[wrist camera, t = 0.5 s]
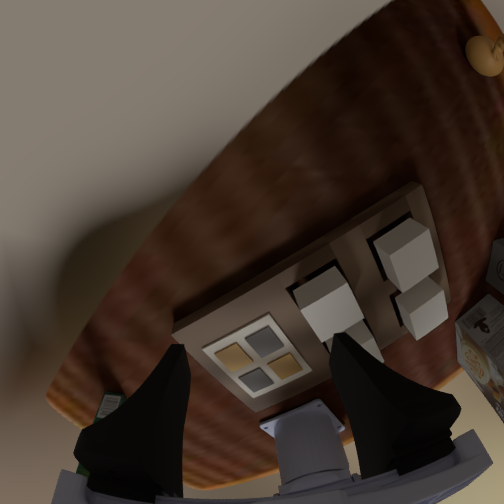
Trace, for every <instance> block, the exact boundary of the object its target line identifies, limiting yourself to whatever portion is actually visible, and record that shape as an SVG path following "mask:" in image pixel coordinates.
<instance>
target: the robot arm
mask: <svg viewBox="0 0 504 504" xmlns="http://www.w3.org/2000/svg"><path fill="white" fill-rule="evenodd" d="M329 367H330V371H331V375H332V378H333V381H334V384H335V386H336V389H337V391H338V394H339V396H340V398H341V401H342V403H343V406H344V408H345V410H346V413H347V416H348V418H349V422H350V425H351V429H352V433H353V437H354V441H355V445H356V450H357V455H358V460H359V466H360V473H361V475H358V474H357V473H355V474H352V475H351V474H350V471H349V463H348V460H347V457H346V454H345V451H344V448H343V444H342V441H341V438H340V435H339V432H341V431H343V430H344V429H345V427H344V425H343V424H342V423H341V422H340V421H339V420H338V419H337V417H336V416H335V415H334V414H333V413H332V412H331V411H330V410H329V408H328V407H327V406H326V405H325V404H324V403H323V402H322V400H321V399H315V400H313V401H311V402H309V403H307V404H304V405H302V406H300V407H298V408H296V409H293V410H291V411H289V412H286V413H284V414H281V415H279V416H277V417H274V418H272V419H269V420H267V421H264V422H261V423H260V424H259V426H260V428H262V429H263V430H264V431H266V432H267V433H268V434H270V435H271V436H273V437H274V438H275V444H276V450H277V457H278V464H279V470H280V476H281V483H282V485H281V486H278V487H279V493H277V494H274V495H273V497H264V498H250V499H190V498H183V480H182V447H183V430H184V424H185V418H186V412H187V406H188V400H189V394H190V381H191V372H190V368H189V364H188V359H187V355H186V350H185V346H184V344H171V345H170V347H169V348H168V350H167V351H166V353H165V354H164V356H163V357H162V359H161V360H160V362H159V363H158V365H157V366H156V367H155V369H154V370H153V371H152V373H151V374H150V375H149V377H148V378H147V379H146V380H145V381H144V383H143V384H142V385H141V386H140V387H139V388H138V389H137V390H136V392H135V393H134V394H133V395H132V396H130V397H129V398H128V399H127V400H126V401H125V402H124V403H123V404H122V405H120V406H119V407H118V408H117V409H115V410H114V411H113V412H111V413H110V414H108V415H107V416H105V417H104V418H102V419H101V420H99V421H97V422H96V423H94V424H92V425H90V426H88V427H86V428H84V429H82V431H81V433H80V435H79V438H78V440H77V443H76V446H75V449H74V452H73V453H74V456H75V458H76V459H77V460H78V462H79V463H80V464H81V465H82V466H83V467H84V468H85V469H86V470H88V471H89V472H90V474H89V478H87V477H85V476H83V475H80V474H77V473H73V472H70V471H67V470H63V469H62V470H61V472H60V475H59V479H58V482H57V485H56V489H55V493H54V496H53V499H52V503H51V504H436V503H438V502H440V501H442V500H444V499H446V498H447V497H449V496H451V495H453V494H454V493H456V492H458V491H460V490H461V489H463V488H464V487H466V486H468V485H469V484H470V483H471V482H472V481H474V480H475V479H476V478H477V477H479V476H480V475H481V474H482V473H483V472H484V471H485V470H487V469H488V468H489V467H490V466H491V465H492V464H493V461H492V460H491V458H490V456H489V454H488V453H487V451H486V449H485V448H484V446H483V444H482V442H481V441H480V439H479V437H478V436H477V434H476V433H475V431H474V429H472V430H470V431H468V432H466V433H464V434H462V435H461V436H459V437H457V438H456V439H454V440H453V441H452V440H451V438H450V436H451V435H452V432H451V431H450V428H451V426H452V425H453V423H454V422H455V421H456V419H457V418H458V416H459V415H460V412H461V406H460V405H459V403H458V402H457V400H456V399H455V397H454V396H453V395H452V394H448V393H444V392H440V391H437V390H434V389H431V388H428V387H425V386H423V385H420V384H418V383H416V382H414V381H412V380H409V379H407V378H406V377H404V376H402V375H400V374H398V373H397V372H395V371H393V370H392V369H390V368H389V367H387V366H386V365H385V364H383V363H382V362H380V361H379V360H378V359H376V358H375V357H374V356H373V355H371V354H370V353H369V352H368V351H366V350H365V349H364V348H363V347H362V346H361V345H360V344H358V343H357V342H356V341H355V340H354V339H353V338H352V337H351V336H349V335H348V334H347V333H346V332H341V333H334V335H333V341H332V347H331V353H330V358H329ZM351 477H352V478H351Z"/></svg>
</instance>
